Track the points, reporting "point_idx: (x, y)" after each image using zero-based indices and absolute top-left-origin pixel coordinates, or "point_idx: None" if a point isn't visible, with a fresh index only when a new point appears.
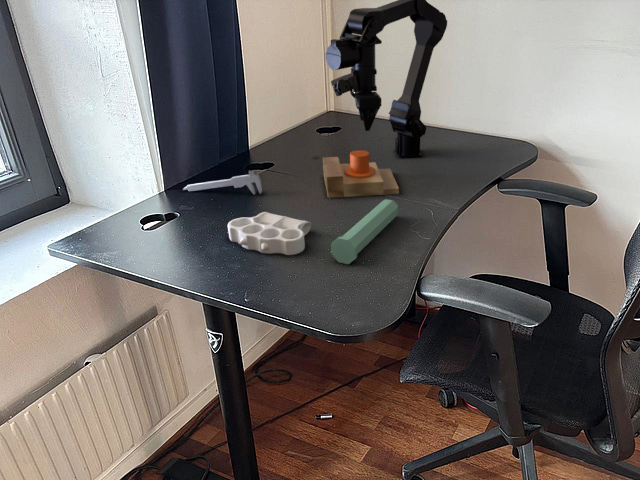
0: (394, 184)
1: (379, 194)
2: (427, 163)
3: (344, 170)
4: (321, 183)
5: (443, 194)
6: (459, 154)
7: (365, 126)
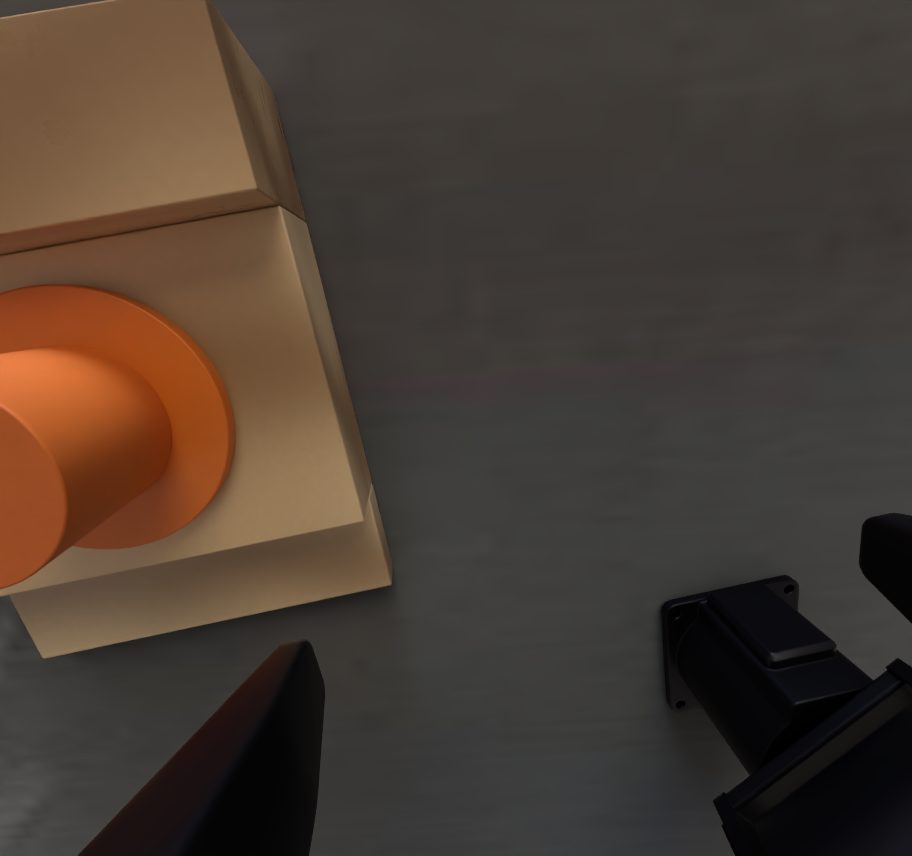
0: (101, 631)
1: None
2: (569, 734)
3: (41, 286)
4: None
5: None
6: (689, 851)
7: (230, 716)
